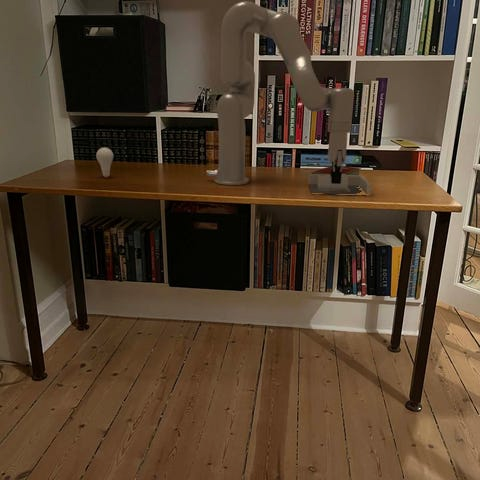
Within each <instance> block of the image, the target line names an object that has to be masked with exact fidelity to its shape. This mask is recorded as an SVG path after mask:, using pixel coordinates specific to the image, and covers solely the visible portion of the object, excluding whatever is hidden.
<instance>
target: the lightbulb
mask: <svg viewBox="0 0 480 480" xmlns="http://www.w3.org/2000/svg"><path fill="white" fill-rule="evenodd" d="M95 156H96V160H97V162H98V163H99V165H100V168H101V171H102V176H103V177H104V178H108V177H110V175H111V174H110V173H111V172H110V170H111V165H112V162H113V161H114V153H113V151H112V150H111V149H110V148H108V147H101V148H99V149H98V150H97V152H96V155H95Z"/></svg>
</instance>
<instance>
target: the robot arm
mask: <svg viewBox="0 0 480 480" xmlns="http://www.w3.org/2000/svg"><path fill="white" fill-rule="evenodd" d="M300 28H301V26H300V23H299V21H298V19H297V18H296V17H295V16H294V15H292V14H290V13H288V12H285V11H281V12H280V11H279V12H278V11H277V10H276V11H275V10H273V9H270V8H266V7H263V6H260V5H259V4H258V3H254V2H252V1H248V0H244V1H239V2H237V3H235V4H233V6H231V7H230V8H229V9H228V10H227V12H226V13H225V15H224V17H223V19H222V23H221V32H220V33H221V35H220V36H221V39H220V40H221V44H220V47H221V48H220V79H221V82H222V83H223V85H225V86H226V87H228V88H229V91H227V92H226V93H224V94H223V95H221V96H220V97H219V99H218V101H217V105H216V114H217V121H218V168H217V169H215V170H212V169H211V170H210V169H207V170H206V176H209V177H215V178H214V179H213V180H214V183H216V184H219V185H220V184H221V185H225V186H240V185H247V184H248V183H249V182H250V180H249V179H250V178H248V177H246V176H245V169H246V168H245V167H246V123H245V122H246V121H245V118H247V117H249V116H250V115H251V114H252V113H253V111H254V108H255V107H254V106H255V91H256V90H255V89H256V87H255V86H256V75H255V74H256V73H255V69H254V67H253V65H252V64H251V62H249V61H248V60H247V40H246V39H247V38H246V35H247V32H250V33H253V34H258V35H260V36H264V37H267V38H270V39H272V40H273V42H274V44H275V46H276V48H277V50H278V52H279V54H280V56H281V59H283V61H284V63H285V67H286V68H287V72H288V74H289V77H290V80H291V83H292V85H293V87H294V89H295V92H296V93H297V95H298V97H299V99H300V102H301V103H302V105H303V106H304V107H305V108H306V110H308V111H310V112H320V111H325V110H326V111H327V110H328V121H327V132H328V133H329V139H328V149H327V160H328V161H329V163H330V164H331V165H330V166H331V174H330V176H332V178H331V183H332V184H341V176H342V166H343V164H344V163H345V162H346V159H347V157H346V156H347V145H348V134H350V133H351V132H352V122H353V121H352V120H353V110H354V98H355V90H353V89H352V88H348V87H335V88H331V87H330V88H329V87H323V86H321V83H320V82H319V80H318V78H317V76H316V74H315V72H314V69H313V65H312V55H311V52H310V50H309V48H308V46H307V44H306V42H305V40H304V38H303V36H302V34H301V32H300Z"/></svg>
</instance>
